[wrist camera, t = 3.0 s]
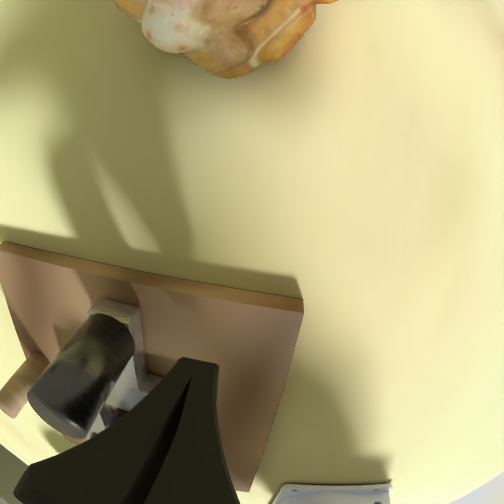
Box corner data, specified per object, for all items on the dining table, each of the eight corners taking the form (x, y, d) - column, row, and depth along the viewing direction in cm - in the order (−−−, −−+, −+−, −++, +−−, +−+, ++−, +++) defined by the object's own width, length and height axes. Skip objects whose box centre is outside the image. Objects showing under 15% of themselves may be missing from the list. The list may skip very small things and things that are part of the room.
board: (303, 299, 13) (303, 313, 12) (250, 482, 20) (248, 492, 19) (5, 241, 14) (-7, 248, 13) (70, 430, 21) (65, 438, 20)
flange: (204, 461, 17) (185, 533, 12) (94, 428, 18) (63, 489, 12) (210, 318, 12) (165, 438, 7) (48, 280, 13) (-30, 351, 7)
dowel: (47, 355, 15) (8, 405, 11) (54, 373, 16) (19, 422, 12) (29, 347, 15) (-10, 393, 11) (36, 365, 16) (1, 411, 12)
